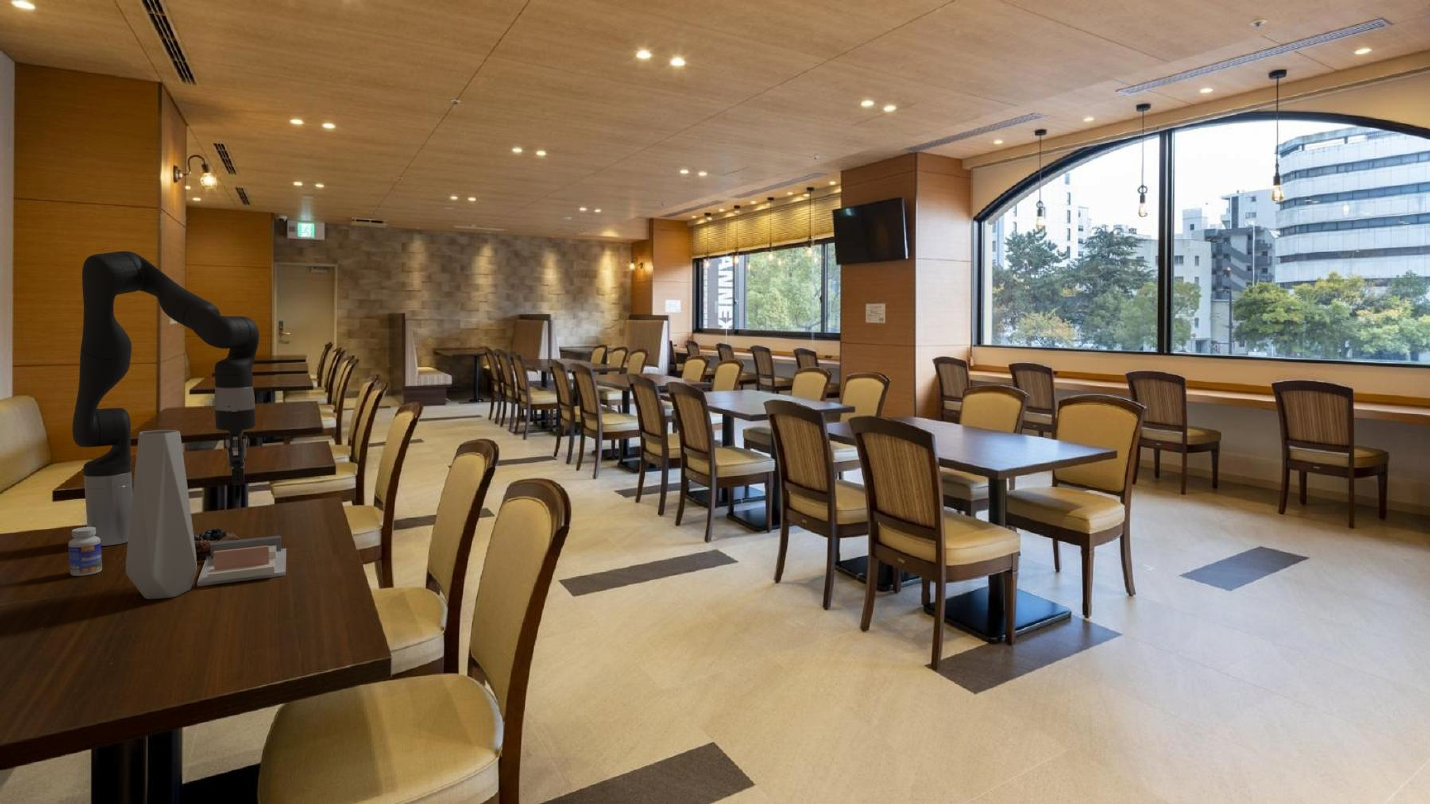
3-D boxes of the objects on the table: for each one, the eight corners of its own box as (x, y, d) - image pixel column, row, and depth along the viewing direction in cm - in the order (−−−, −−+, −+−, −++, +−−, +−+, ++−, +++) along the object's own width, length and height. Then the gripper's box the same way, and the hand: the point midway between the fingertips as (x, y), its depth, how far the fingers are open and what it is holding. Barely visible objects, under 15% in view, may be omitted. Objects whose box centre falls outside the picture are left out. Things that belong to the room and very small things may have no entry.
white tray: (206, 559, 176) (206, 543, 176) (286, 551, 184) (285, 534, 184) (197, 586, 159) (196, 567, 158) (285, 575, 166) (284, 557, 166)
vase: (218, 587, 158) (210, 429, 155) (162, 605, 147) (152, 437, 144) (176, 579, 162) (168, 426, 159) (118, 597, 151) (108, 433, 148)
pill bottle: (84, 577, 163) (81, 533, 162) (63, 575, 164) (60, 531, 163) (108, 569, 168) (106, 526, 167) (88, 567, 169) (86, 525, 169)
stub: (210, 575, 162) (208, 550, 162) (275, 567, 168) (274, 543, 168) (207, 581, 158) (206, 556, 158) (274, 573, 164) (273, 549, 163)
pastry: (169, 556, 179) (167, 532, 179) (221, 544, 190) (219, 521, 189) (197, 563, 174) (196, 538, 174) (249, 550, 185) (248, 526, 185)
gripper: (217, 404, 172) (220, 480, 174) (212, 411, 160) (215, 492, 162) (256, 403, 175) (259, 477, 177) (253, 409, 164) (257, 489, 166)
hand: (238, 484), depth 170 cm, fingers closed
